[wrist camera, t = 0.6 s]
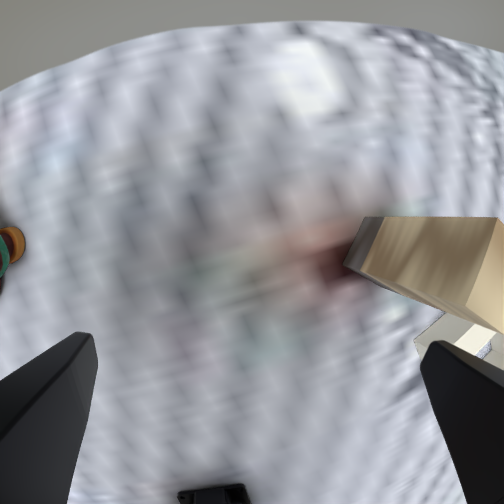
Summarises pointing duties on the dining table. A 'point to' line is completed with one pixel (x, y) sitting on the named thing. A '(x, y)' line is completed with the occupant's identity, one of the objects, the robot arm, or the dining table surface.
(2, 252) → the green boxy toy
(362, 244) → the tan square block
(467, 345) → the square ring frame
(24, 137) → the dining table surface
